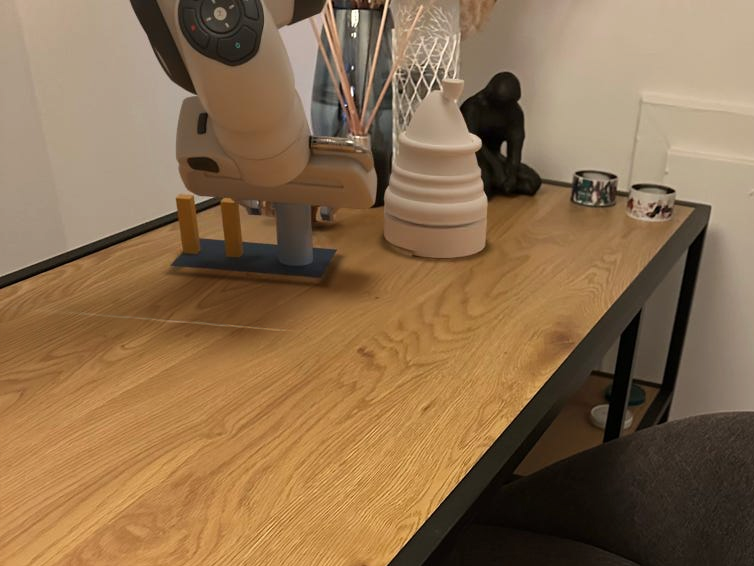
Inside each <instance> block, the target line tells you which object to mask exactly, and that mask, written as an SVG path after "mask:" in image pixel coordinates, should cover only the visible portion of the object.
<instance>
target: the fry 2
mask: <svg viewBox="0 0 754 566" xmlns="http://www.w3.org/2000/svg"><path fill="white" fill-rule="evenodd" d="M219 203H220V211H221V213H220V214H221V219H222V221H221V222H222V229H223V238H224V239H223V240H225V249H226V256H227V257H236V258H240V257H241V256H242V255H243V245H242V242H243V235H242V227H241V215H240V206H239V204H238V203H236V202H234V201H233V200H231V198H221V200H220V202H219Z"/></svg>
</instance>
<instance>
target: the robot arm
mask: <svg viewBox="0 0 754 566" xmlns="http://www.w3.org/2000/svg"><path fill="white" fill-rule="evenodd" d="M327 1H328V0H129V4H130V6H131V9H132V10H133V12H134V14H135V17H136V18H137V20H138V22H139V25H140V26H141V28H142V30H143V31H144V33H145V34H146V37H147V39H148V42H149V44H150V47H151V49H152V51H153V53H154V56H155V57H156V59H157V61H158V63H159V65H160V67H161V68H162V70H163V72H164V73H165V75H166V76H167V77H168V78H169V80H170V82H172V83H174V84H175V85H177V86H178V87H180V88H181V89H183V90H184V91H186V92H188V93H190V94H192V95H193V96H188V97H185V98H183V100H182V103H181V106H180V109H179V114H178V120H177V125H176V133H175V134H176V135H175V159H176V162H177V163H178V166H177V167H178V168H177V169H178V173H179V177H180V179H181V181H182V183H183V185H184V188H186V190H187V191H189V193H192V194H193V195H195V196H197V197H208V198H220V199H223V198H231V200H233V201H234V202H236V203H238V205H240V206H241V207H242V208H245V210H246V212H247V214H248V215H249V216H262V215H263V208H264V202H266V201H268V202H280V203H292V204H304V205H317V206H321V207H320V211H319V215H320V217H321V221H323V222H324V221H325V222H332V223H333V222H336V220H337V213H338V212H339V210H340V209H341V208H344V209H354V210H369V209H370V208H372V207H373V206H374V205H375V203H376V199H377V188H378V177H377V176H378V175H377V172H376V168H375V161H374V156H373V152H372V150H371V149H370V148H369V147H367V146H364V145H363V144H362V143H361V142H359V141H357V140H355V139H353V138H348V137H338V136H326V135H325V136H324V135H313V134H312V132H311V128H310V126H309V121H308V119H307V116H306V112H305V108H304V105H303V101H302V98H301V96H300V94H299V91H298V90H297V89H296V83H295V82H296V81H295V79H296V78H295V73H294V69H293V65H292V63H291V60H290V57H289V54H288V51H287V48H286V46H285V43H284V40H283V38H282V36H281V33H280V31H279V30H280V29H282V28H284V27H286V26H287V27H289V26H293V25H295V24H297V23H299V22H302V21H305V20H307V19H309V18H312V17H314V16H316V15H319V14H322V12H323V10H324V8H325V5H326V3H327Z"/></svg>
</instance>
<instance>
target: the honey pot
mask: <svg viewBox="0 0 754 566" xmlns="http://www.w3.org/2000/svg"><path fill="white" fill-rule="evenodd" d="M464 87H465V80H464V79H461V78H453V77H451V78H450V77H449V78H441V89H442V90H439V89H438V90H436V89H434V90H432V91H431V92H429V93H428V94H427V95H426V96H424V98H423V99H422V101H421V102H420V103H419V104H418V106H417V107H416V110H415V111H414V112H413V115H412V117H411V119H410V121H409V124H408V126H407V129H405V130H404V131H402V132H401V133H399V135H398V137H397V142H398V144H399V146H400V147H399V150H398V153H397V157H396V158H395V159H396V160H395V161H394V162H393V164H392V168H391V170H392V173H391V174H390V177H389V180H388V184H389V185H388V186H387V187H386V189H385V192H384V196H383V202H384V205H383V209H384V210H383V237H384V238H385V240H386V241H387V242H388V243H390V244H392V245H394V246H396V247H398V248H400V249H405V250H408V251H412V256H415V257H416V256H417V257H423V258H433V259H455V258H462V257H467V256H471V255H475V254H477V253H479V252H481V251H483V249H485V247H486V242H487V241H486V240H487V239H486V238H487V224H488V222H487V221H488V217H487V215H488V205H489V204H488V203H489V202H488V196H487V195H486V193H485V190H484V182H483V181H484V180H483V179H482V177H481V176H482V168H481V167H480V166H479V164H478V159H477V155H476V153H477V152H478V151H479V150H480V149H481V148H482V145H483V142H482V139H481V138H480V137H479V136H477V134H473V133H471V132H470V131H469V129H468V126H467V123H466V120H465V117H464V116H463V113H462V112H461V110H460V108H459V106H458V104H457V103H456V101H455V100H458V98H459V97H460V96H461V95H462V93H463V91H464Z"/></svg>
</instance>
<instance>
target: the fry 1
mask: <svg viewBox="0 0 754 566" xmlns="http://www.w3.org/2000/svg"><path fill="white" fill-rule="evenodd" d="M175 205H176V211H177V219H178V226H179V232H180V239H181V246H182V252H183V253H187V254H198V252H199V251H200V250H201V248H200V240H199V238H200V231H199V225H198V224H199V223H198V217H197V209H196V201H195V194H183V193H180V194H178V195H177V196H176V197H175Z"/></svg>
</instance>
